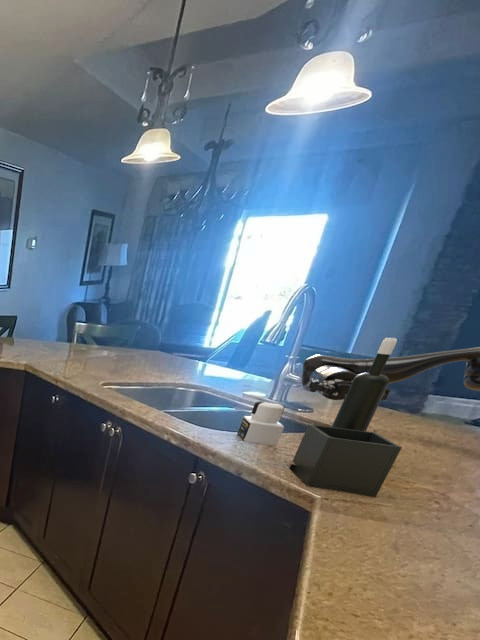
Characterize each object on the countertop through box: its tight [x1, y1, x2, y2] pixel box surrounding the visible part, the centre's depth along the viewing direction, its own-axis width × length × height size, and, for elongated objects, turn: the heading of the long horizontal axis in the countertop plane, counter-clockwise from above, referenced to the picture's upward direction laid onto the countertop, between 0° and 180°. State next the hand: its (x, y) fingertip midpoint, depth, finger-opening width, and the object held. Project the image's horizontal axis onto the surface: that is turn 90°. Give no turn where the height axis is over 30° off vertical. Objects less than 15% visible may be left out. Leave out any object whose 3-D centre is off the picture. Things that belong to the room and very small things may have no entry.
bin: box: [288, 423, 403, 498], centre depth 106 cm, size 11×11×11 cm
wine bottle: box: [331, 337, 398, 431], centre depth 113 cm, size 6×6×30 cm
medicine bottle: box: [236, 400, 286, 447], centre depth 128 cm, size 7×7×12 cm
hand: (355, 394), depth 116 cm, fingers open, 8 cm apart
